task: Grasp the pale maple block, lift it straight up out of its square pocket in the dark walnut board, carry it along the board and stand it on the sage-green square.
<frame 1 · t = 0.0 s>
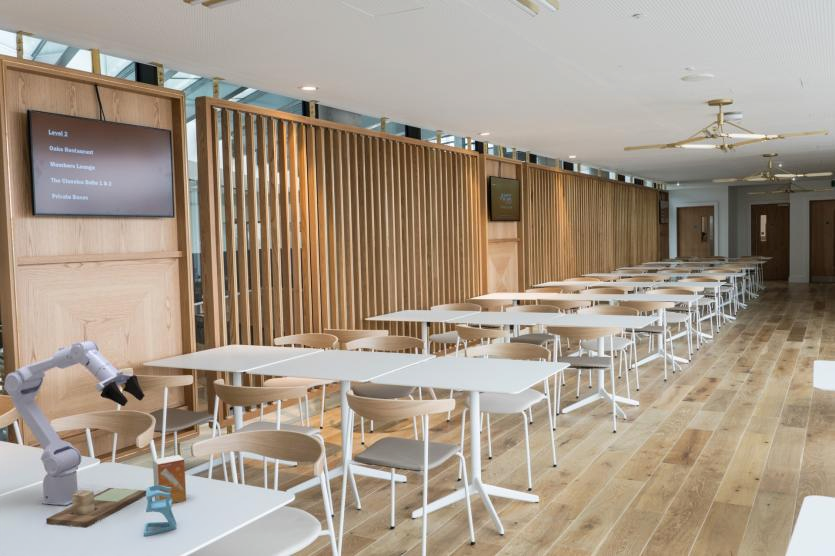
hand: (134, 400, 215), 32 cm above the table, tool tilted 50°, fingers open, 7 cm apart
maple block: (84, 516, 210), resting in walnut pocket board
walnut pocket board: (99, 508, 216), on the table
small box: (170, 501, 221), on the table
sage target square: (114, 495, 223), resting on walnut pocket board
chair: (160, 529, 198), on the table
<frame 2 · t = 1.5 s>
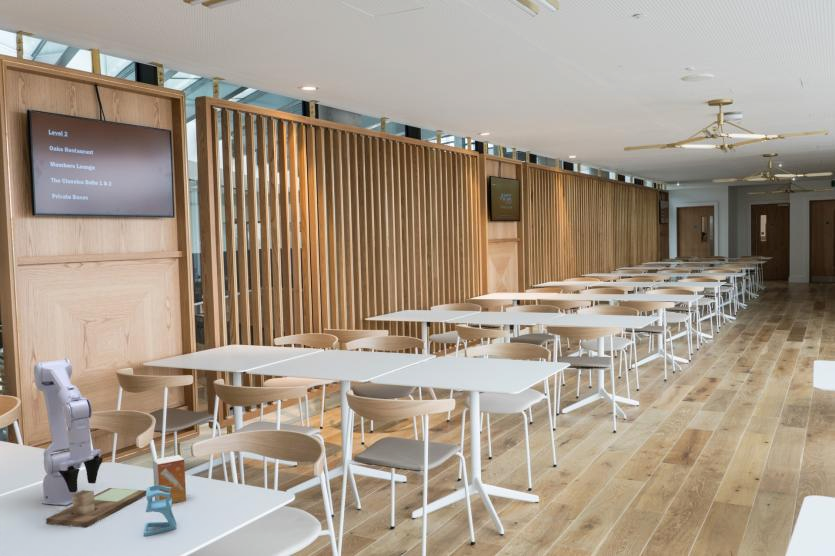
hand: (82, 487, 210), 9 cm above the table, tool pointing down, fingers open, 7 cm apart
nothing on the table moved.
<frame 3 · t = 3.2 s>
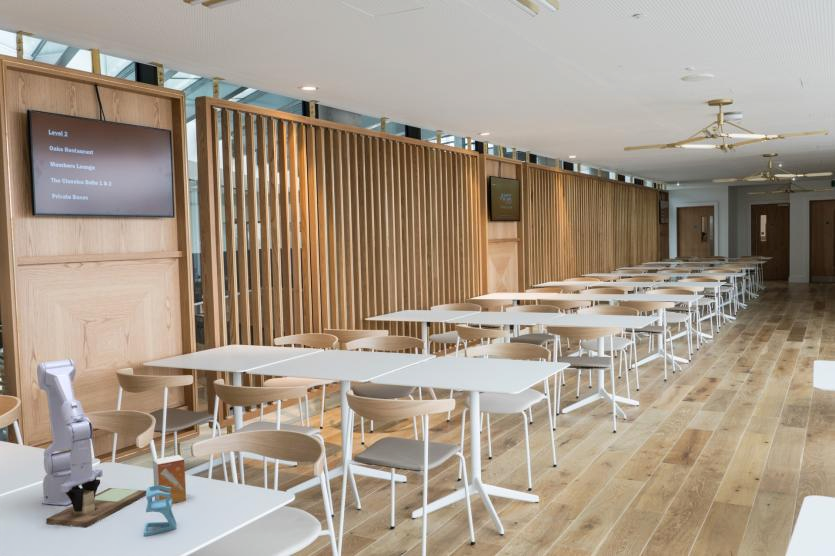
hand: (84, 508, 210), 2 cm above the table, tool pointing down, fingers closed on maple block, 4 cm apart
maple block: (84, 516, 210), resting in walnut pocket board, touching gripper
everything else where it was.
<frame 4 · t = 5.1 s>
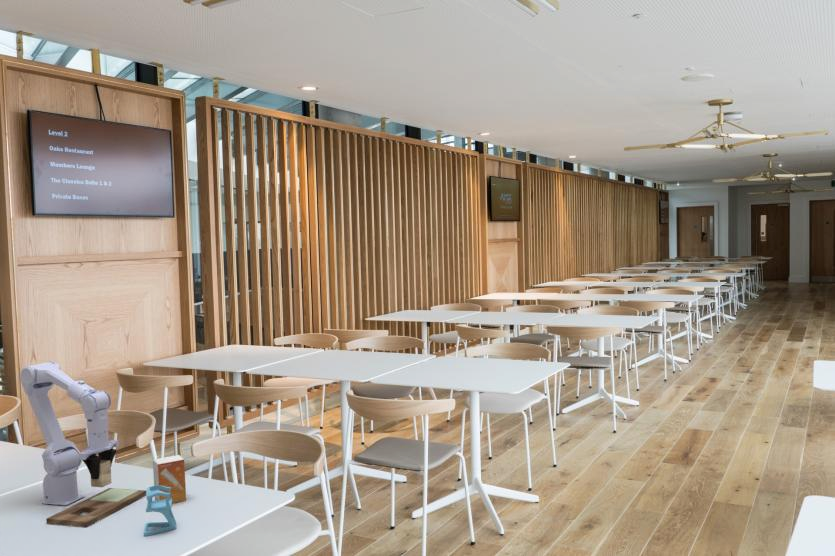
hand: (100, 476, 217), 9 cm above the table, tool pointing down, fingers closed on maple block, 4 cm apart
maple block: (101, 484, 217), point 7 cm above the table, touching gripper
everything else where it was.
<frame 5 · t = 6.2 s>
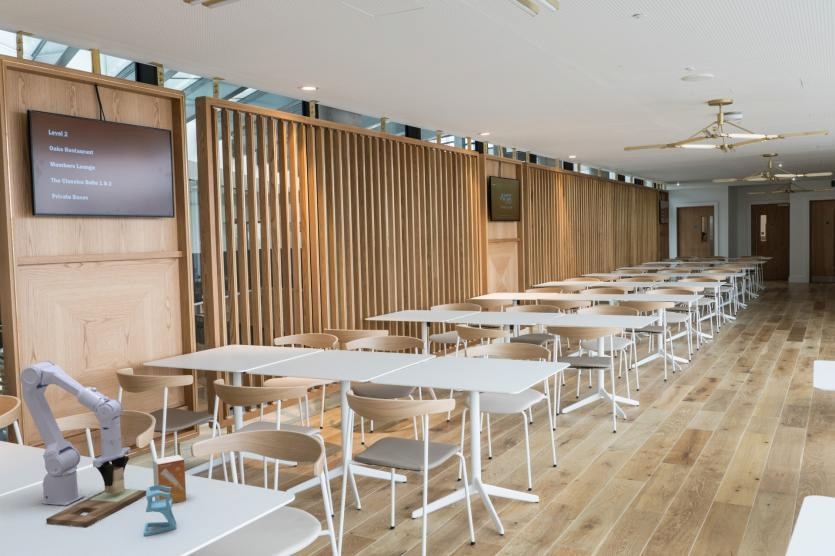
hand: (113, 483, 223), 6 cm above the table, tool pointing down, fingers closed on maple block, 4 cm apart
maple block: (114, 491, 223), point 3 cm above the table, touching gripper
everything else where it was.
when the fingers open (5 cm above the table, at t = 7.0 s): maple block drops 1 cm, resting on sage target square.
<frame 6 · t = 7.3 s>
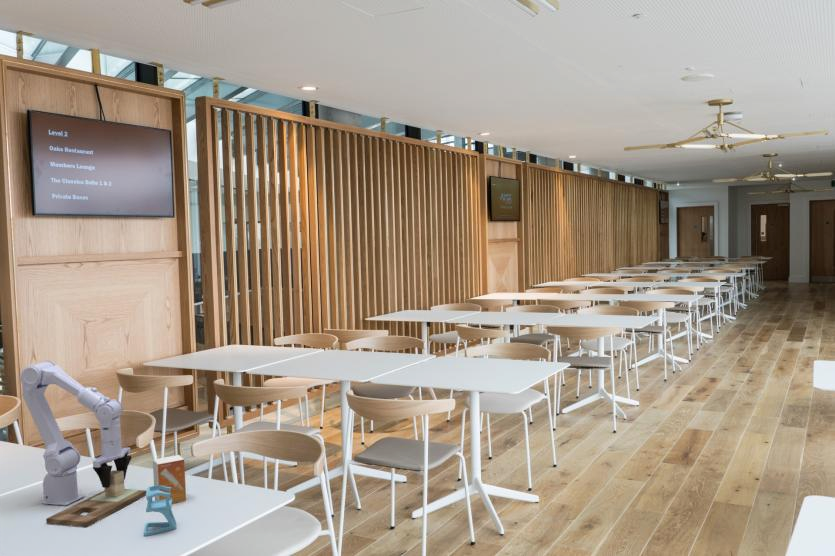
hand: (113, 483, 223), 5 cm above the table, tool pointing down, fingers open, 6 cm apart
maple block: (115, 494, 223), point 2 cm above the table, touching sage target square
everything else where it was.
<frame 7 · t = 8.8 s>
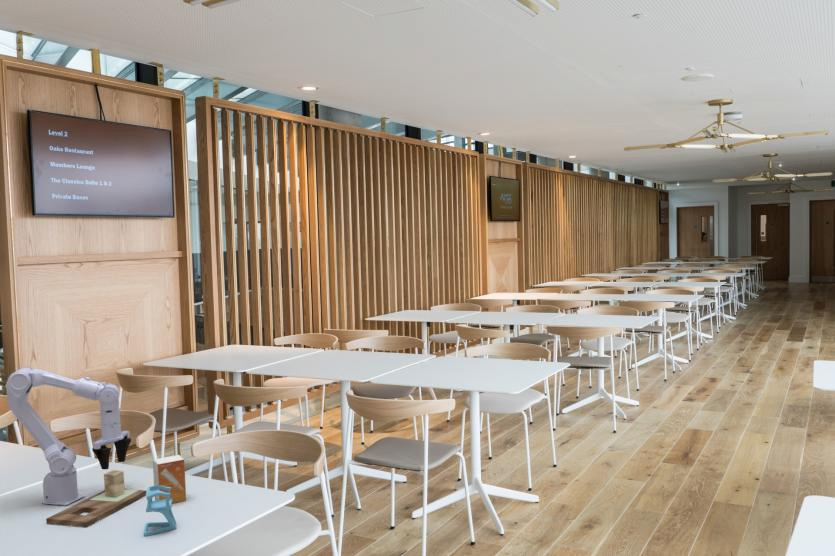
hand: (113, 465, 228), 9 cm above the table, tool pointing down, fingers open, 7 cm apart
nothing on the table moved.
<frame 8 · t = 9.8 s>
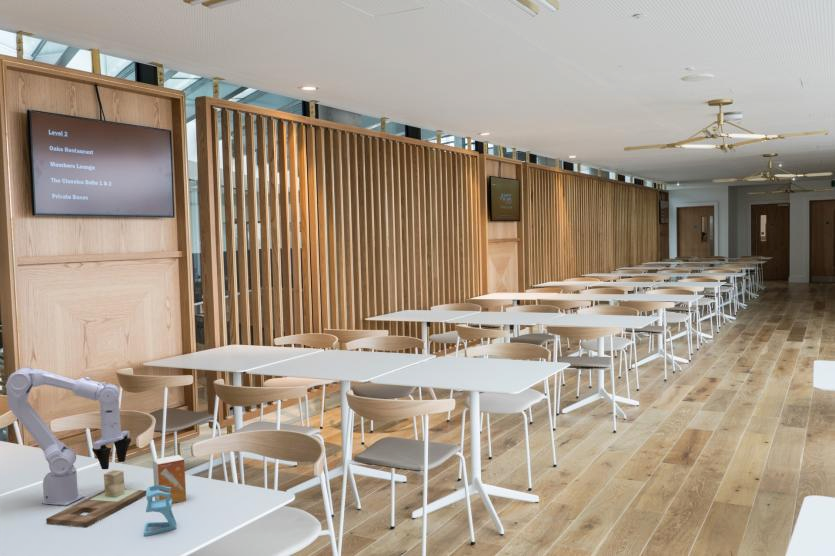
hand: (113, 465, 228), 9 cm above the table, tool pointing down, fingers open, 7 cm apart
nothing on the table moved.
at the end: maple block inside the target area (0.1 cm from its centre), point 1.8 cm above the table; maple block tilted 0°; the gripper is holding nothing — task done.
